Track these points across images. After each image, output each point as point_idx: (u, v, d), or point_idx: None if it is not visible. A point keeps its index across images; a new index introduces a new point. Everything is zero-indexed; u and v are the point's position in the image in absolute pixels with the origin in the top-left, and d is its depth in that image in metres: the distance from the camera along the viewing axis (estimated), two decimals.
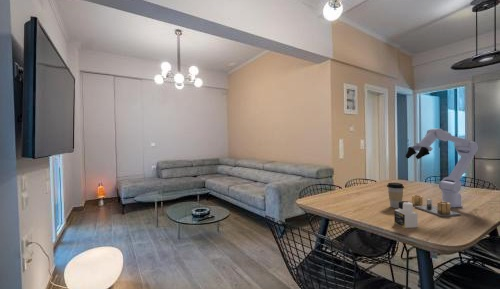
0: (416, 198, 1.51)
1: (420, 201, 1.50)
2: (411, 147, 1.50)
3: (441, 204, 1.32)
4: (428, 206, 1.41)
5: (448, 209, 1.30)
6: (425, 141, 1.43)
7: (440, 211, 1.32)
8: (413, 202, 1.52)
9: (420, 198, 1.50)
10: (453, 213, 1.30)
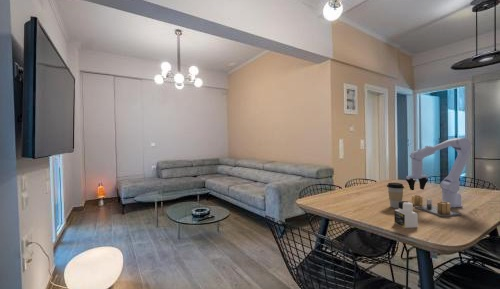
0: (416, 198, 1.51)
1: (420, 201, 1.50)
2: None
3: (441, 204, 1.32)
4: (428, 206, 1.41)
5: (448, 209, 1.30)
6: None
7: (440, 211, 1.32)
8: (413, 202, 1.52)
9: (420, 198, 1.50)
10: (453, 213, 1.30)
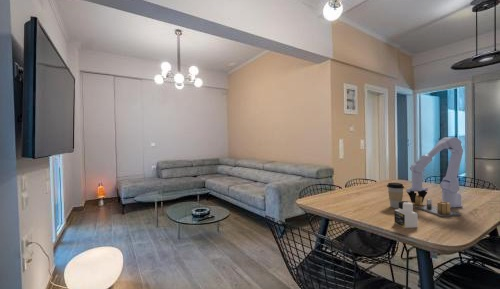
0: (416, 198, 1.51)
1: (420, 201, 1.50)
2: None
3: (441, 204, 1.32)
4: (428, 206, 1.41)
5: (448, 209, 1.30)
6: None
7: (440, 211, 1.32)
8: None
9: (420, 198, 1.50)
10: (453, 213, 1.30)
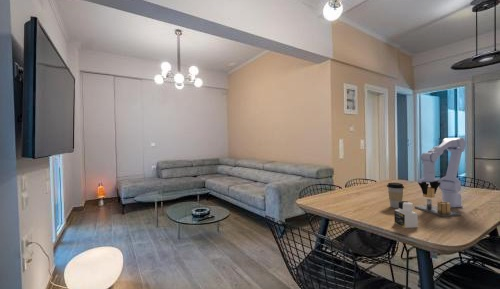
0: (428, 190, 1.40)
1: (432, 193, 1.39)
2: None
3: (441, 204, 1.32)
4: (428, 206, 1.41)
5: (448, 209, 1.30)
6: (423, 173, 1.43)
7: (440, 211, 1.32)
8: (424, 194, 1.42)
9: (432, 189, 1.39)
10: (453, 213, 1.30)
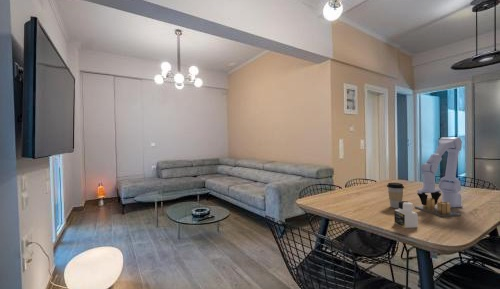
0: (428, 201, 1.40)
1: (432, 204, 1.39)
2: None
3: (441, 204, 1.32)
4: None
5: (448, 209, 1.30)
6: (423, 184, 1.44)
7: (440, 211, 1.32)
8: (424, 205, 1.42)
9: (432, 201, 1.39)
10: (453, 213, 1.30)
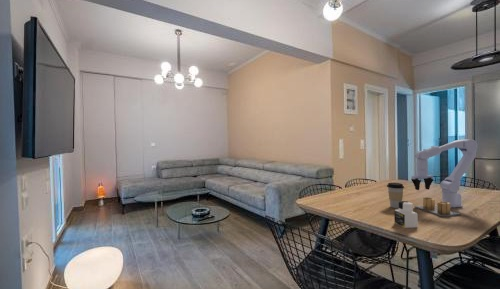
0: (428, 201, 1.40)
1: (432, 204, 1.39)
2: None
3: (441, 204, 1.32)
4: None
5: (448, 209, 1.30)
6: None
7: (440, 211, 1.32)
8: (424, 205, 1.42)
9: (432, 201, 1.39)
10: (453, 213, 1.30)
